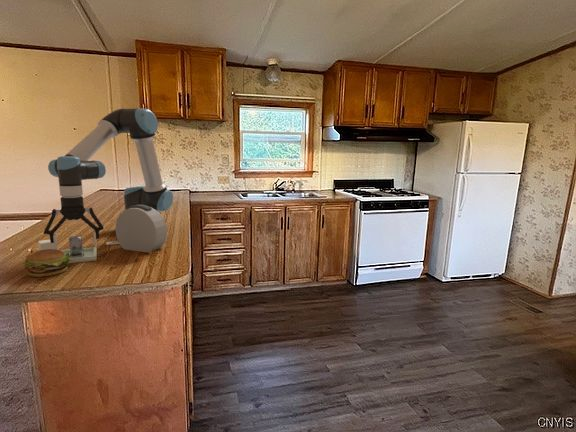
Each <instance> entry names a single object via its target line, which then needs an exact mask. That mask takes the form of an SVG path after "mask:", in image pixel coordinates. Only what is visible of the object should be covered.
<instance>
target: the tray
mask: <svg viewBox="0 0 576 432" xmlns="http://www.w3.org/2000/svg"><path fill="white" fill-rule="evenodd" d="M60 250H61V249H60ZM61 251H62V252H64V253H65V255H66V254H67V253H69V255H70V248H69V249H62V250H61ZM97 252H98V250H97V248H95V246H91V247H83V253H84V256H83V257H75V258H69V259H70V261H69V262H68V264H75V263H86V262H93V261H97Z"/></svg>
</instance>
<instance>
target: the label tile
mask: <svg viewBox="0 0 576 432" xmlns="http://www.w3.org/2000/svg"><path fill="white" fill-rule="evenodd" d="M106 245H107V246H111V245H120V243H119V241H118V240H117V241H107V242H106Z"/></svg>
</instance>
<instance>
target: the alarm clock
mask: <svg viewBox="0 0 576 432" xmlns="http://www.w3.org/2000/svg"><path fill="white" fill-rule="evenodd" d="M114 230H115V237H116V238H117V241H119V243H120V244H119V245H120V246H121V248H122V249H123V250H126V251H132V252H133V251H134V252H135V251H136V252H140V253H141V252H143V253H152V252H154V251H157V250H159V249H161V248H162V247H163V246H164V244H165V243H166V240H167V235H168V234H167V233H168V229H167V224H166V222H165V219H164V217H163V216H162V215H161V213H160V211H157V210H155V209H153V208H152V207H149V206H147V205H134V206H130V207H129V209H127V210H125V209H124V210H123V211H122V212H121V213H120V214H119V215H118V217H117V218H116V222H115V229H114Z"/></svg>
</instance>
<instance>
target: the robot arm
mask: <svg viewBox="0 0 576 432" xmlns="http://www.w3.org/2000/svg"><path fill="white" fill-rule="evenodd" d="M158 122H159V121H158V118H157V117H156V115H155V113H154V112H152V111H151V109H148V108H141V107H139V108H135V107H134V108H118V109H115V110H113V111H111V112H110V113H108V114H107V115H105V116H104V117H103V118H102V119H100V120H99V121H98V123H97V126H96V127H95V128H93V130H92V131H91V132H89V133H88V134H87V135H86V136H85V137H83V138H82V140H81V141H79V142H78V143H77V144H76V145H75V146H74V147H73V148H72V149H70V150H69V151H68V152H67V153H66V154H65V155H64V156H63V155H62V156H58V157H57V159H52V160H50V161H49V163H48V165H47V166H48V167H47V170H48V172H49V174H51V176H53V177H54V178H58V187H59V189H58V190H59V195H60V205H61V207H60V209H56V208H53V209H52V210H51V216H50V218H49V221H48V222H47V224H46V226H45V228H44V231H43V234H44V235H48V236H49V240H50V242H51V243H54V248H55V249H56V250H59V249H58V237H57V233H56V232H57V230H59V228H60V227H61V226H62V225H63V223H65V222H66V221H72V220H73V221H74V220H76V221H78V220H81V221H83V222H85V224H87V225H88V226H89V227H90V228H91V229H92V230H93V244H94V247H95V248H96V249H97V248H98V245H97V244H98V243H97V242H98V241H97V240H99V239H100V231H102V230H104V225H103V224H102V223H101V221H100V219H99V218H98V217H97V215H96V214H95V212H94V208H93V207H92V206H90V207H87V208H85V205H84V197H83V184H82V183H83V181H84V180H85V181H87V180H98V179H102V178H104V177H105V175H106V173H107V172H106V168H107V167H106V166H105V164H104V163H103V162H102V161H100V160H93V159H92V160H90V159H91V158H92V157H93V156H94V155H95V154H96V153H97V152H99V150H100V149H102V148H103V146H104V145H106V144H107V142H109V140H111V139H114V138H116V137H117V136H119V135H120V134H121V135H122V134H129V137H130V139H131V140H132V141H134V143H135V148H136V152H137V157H138V160H139V164H140V168H141V174H142V177H143V180H144V185H139V186H131V187H126V188H124V190H123V192H124V194H123V197H124V200H123V201H124V210H127V209H129V207H130V206H134V205H147V206H149V207H152V208H153V209H155V210H157V211H158V212H167V211H169V210H170V209H171V207H172V205H173V201H174V194H173V191H171V190H170V189H168V187H167V184H166V183H164V182H163V179H162V175H161V169H160V165H159V161H158V156H157V152H156V147H155V143H154V137H155V136H156V133H157V131H158V129H159V128H158V127H159V123H158ZM85 213H88V214H89V215H90V216H91V218H92V219H93V220H94V223H96V225H97V226H96V225H95V224H94V223H93V222H92V221H91V220H90V219H89V218H88V217H86V216H85V215H84V214H85ZM59 214H61V215H62V218H61V219H60V220H59V221H58V222H57V223H56V225H54V227H53V228H51V226H52V224H53V222H54V220H55V219H56V216H58V215H59ZM50 228H51V230H50Z"/></svg>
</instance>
